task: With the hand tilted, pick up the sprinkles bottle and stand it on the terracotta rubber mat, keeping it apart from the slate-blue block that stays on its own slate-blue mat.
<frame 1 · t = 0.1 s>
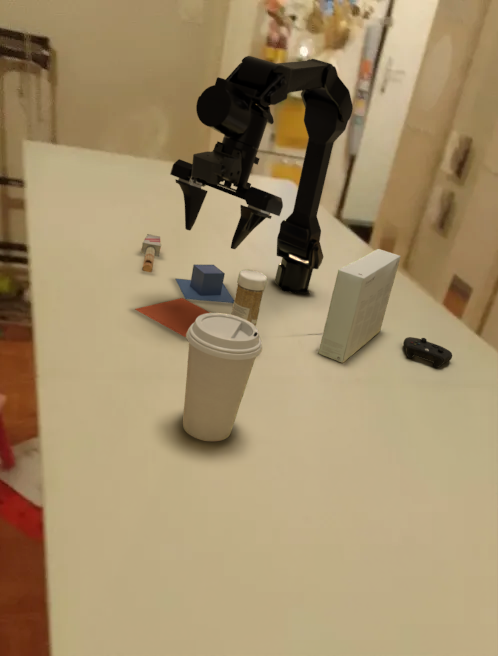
hand: (210, 239, 111), 15 cm above the table, tool pointing down, fingers open, 9 cm apart
blue block: (205, 290, 132), resting on blue mat
coffee cup: (206, 429, 90), on the table
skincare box: (349, 342, 128), on the table
sprinkles bottle: (237, 350, 114), on the table
terracotta mat: (183, 318, 119), on the table
game controller: (423, 359, 130), on the table
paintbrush: (149, 257, 143), on the table
blue mat: (204, 292, 132), on the table
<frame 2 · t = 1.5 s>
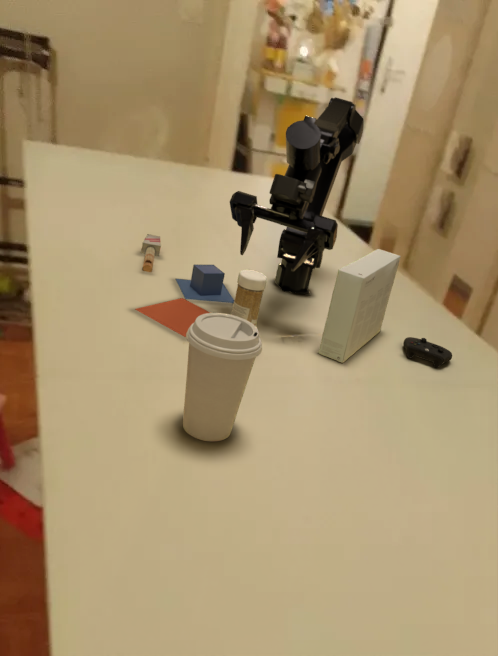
hand: (266, 261, 114), 13 cm above the table, tool tilted 45°, fingers open, 9 cm apart
nothing on the table moved.
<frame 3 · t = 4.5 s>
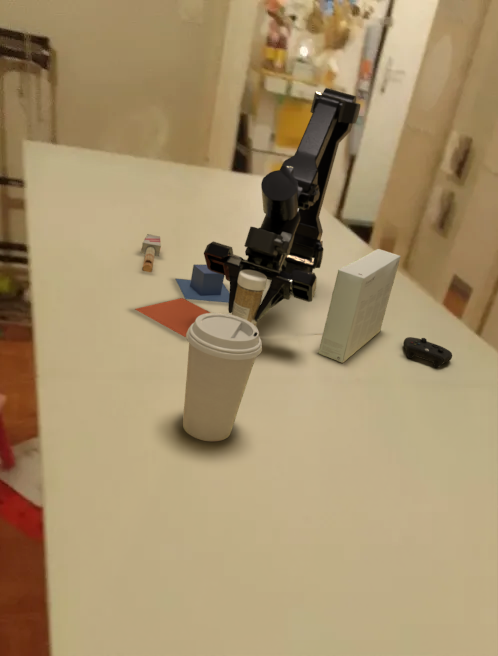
hand: (242, 316, 109), 7 cm above the table, tool tilted 45°, fingers closed on sprinkles bottle, 4 cm apart
sprinkles bottle: (237, 350, 114), on the table, touching gripper
everything else where it was.
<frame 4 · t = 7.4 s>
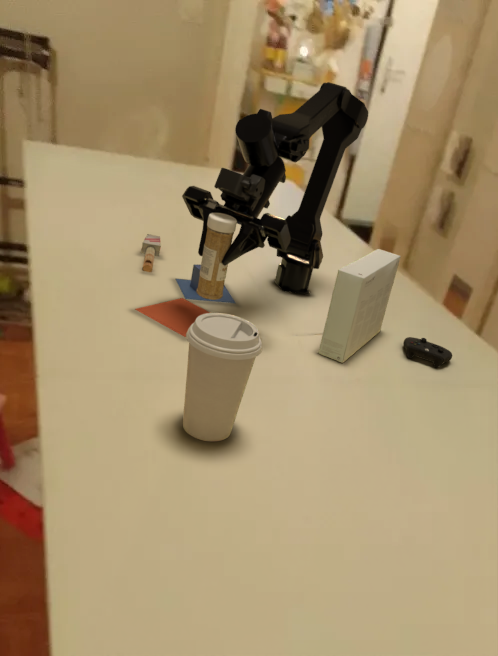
hand: (211, 259, 109), 13 cm above the table, tool tilted 45°, fingers closed on sprinkles bottle, 4 cm apart
sprinkles bottle: (208, 296, 114), point 6 cm above the table, touching gripper
everything else where it was.
when the fingers open (7 cm above the table, at t = 10.4 s): sprinkles bottle stays where it is, resting on terracotta mat.
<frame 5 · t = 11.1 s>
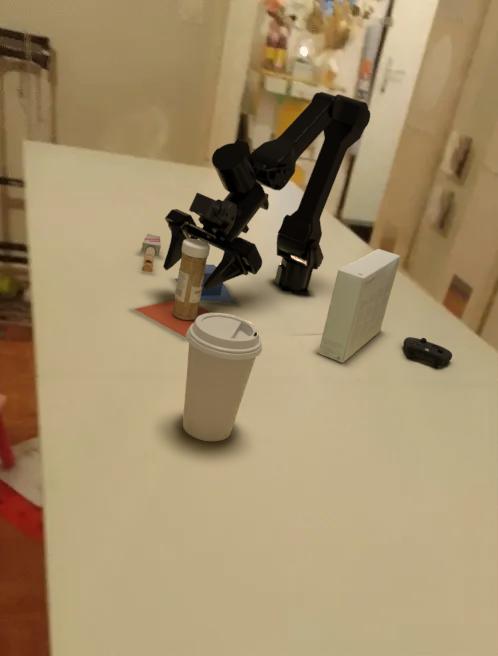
hand: (184, 278, 115), 8 cm above the table, tool tilted 45°, fingers open, 9 cm apart
sprinkles bottle: (184, 316, 119), resting on terracotta mat
everything else where it was.
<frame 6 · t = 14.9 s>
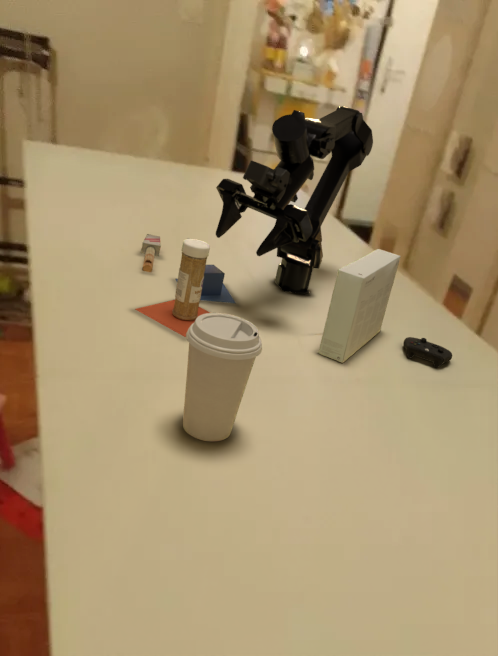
hand: (236, 245, 118), 14 cm above the table, tool tilted 45°, fingers open, 9 cm apart
nothing on the table moved.
at the end: sprinkles bottle inside the target area on the terracotta mat (0.2 cm from its centre), point 0.2 cm above the terracotta mat's base; sprinkles bottle tilted 0°; blue block moved 0.0 cm from its start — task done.
